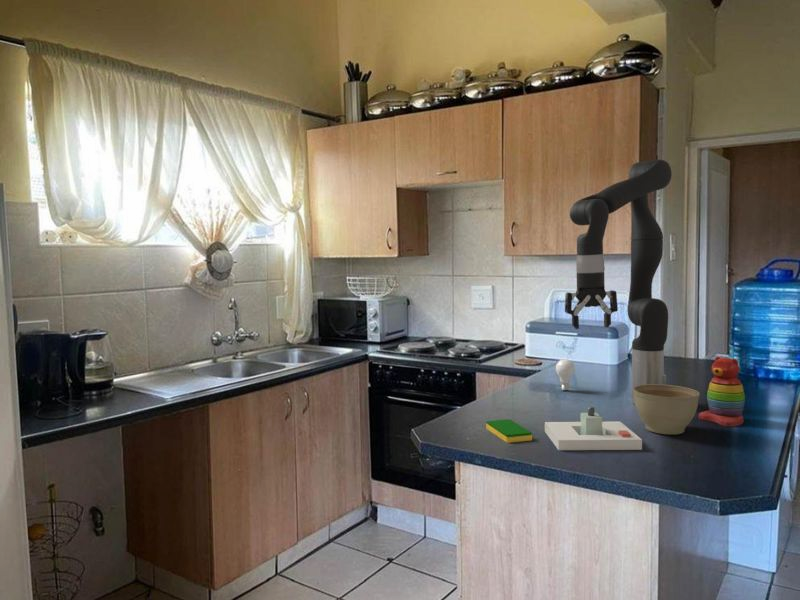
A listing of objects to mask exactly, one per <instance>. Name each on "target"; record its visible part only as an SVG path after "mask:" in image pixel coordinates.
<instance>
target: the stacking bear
mask: <svg viewBox="0 0 800 600" xmlns="http://www.w3.org/2000/svg"><path fill="white" fill-rule="evenodd" d="M714 360H715V361H714V362H713V363H712V365H711V369H710V370H711V373H712V375H713V376H714V377H712V378H711V381H710V382H709V384H708V389H707V393H706V401H707V404H708V409H709V410H705V411H701V412H699V413H698V419H699V420H701V421H707V422H712V423H716V424H718V425H720V426H723V427H728V428H729V427H731V428H732V427H737V426H740V425H742V424H744V417H743V411H744V406H745V403H746V400H745V399H746V395H745V392H744V386H743V384H742V382H741V381H740V379H738V375H739V373H740V366H739V361H738V359H736V358H729V357H720V356H716V358H715V359H714Z"/></svg>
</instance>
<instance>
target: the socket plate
mask: <svg viewBox="0 0 800 600" xmlns="http://www.w3.org/2000/svg"><path fill="white" fill-rule="evenodd" d="M544 433H545V434H546V435H547V436H548V438H549V439H550V440H551V442H552V443H553V445H554V446H555V447H556V449H557V451H608V450H609V451H618V450H619V451H632V450H633V451H635V450H636V451H637V450H639V451H640V450H641V451H642V450H643V439H642V438H641V437H640V436H639V435H637V434H636V433H635V432H634V431H633V430H631V429H630V428H629V427H628V426H626V425H625V424H624V423H622V421H620V420H619V421H602V435H580V421H545V422H544Z"/></svg>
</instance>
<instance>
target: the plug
mask: <svg viewBox="0 0 800 600" xmlns="http://www.w3.org/2000/svg"><path fill="white" fill-rule="evenodd" d="M595 410H596V409H595V407H594V406H588V407H587V412H580V418H579V419H580V421H579V422H580V435H602V422H603V417H602V416H600V415H599V414H598V412H595Z"/></svg>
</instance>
